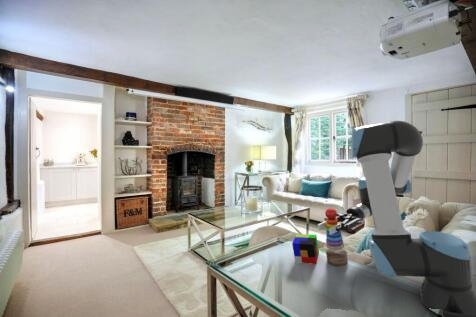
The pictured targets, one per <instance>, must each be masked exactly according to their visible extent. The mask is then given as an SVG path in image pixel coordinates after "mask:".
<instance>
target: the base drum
mask: <svg viewBox="0 0 476 317" xmlns="http://www.w3.org/2000/svg"><path fill="white" fill-rule="evenodd" d="M325 254H326V261H327V263H328V264H329V265H331V266H334V267H342V266H345V265H347V264H348V262H349V260H348V254H347V250H345V249H344V248H343V249H341V250H331V249H329V248H328V249H327V250H326V251H325Z"/></svg>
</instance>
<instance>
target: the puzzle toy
mask: <svg viewBox="0 0 476 317" xmlns="http://www.w3.org/2000/svg"><path fill="white" fill-rule="evenodd" d="M318 242H319V241H318V237H317V234H307V233H306V234H305V233H297V234H296V235H295V237H294V239H293V241H292V243H291V245H292V250H293V251H292V252H293V257H294V262H295V263H297V264H298V263H299V264H309V263H311V264H312V265H317V263H318V259H319V254H320V249H319V244H318Z"/></svg>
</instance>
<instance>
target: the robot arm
mask: <svg viewBox="0 0 476 317" xmlns="http://www.w3.org/2000/svg"><path fill="white" fill-rule="evenodd" d="M350 136H351V141H350V142H351V147H350V148H351V156H352V157H353V158H356V159H357V163H359V164H361V165H362V168H363V173H364V174H363V175H364V176H363V177H360V178H359V179H358V181H357V182H358V192H359V200H360V203H358V204H355V205H353V206H352V207H349V208H347V210H346V211H345V212H343V213H339V212H338V211H336V212H337V216H336V218H337V219H338V222H337V223H338V224H337V225H335V226H333V227H331V228H329V233H330V235H332V234H334V233H335V232H337V231H344V230H346V231H350V230H352V229H353V228H355V227H356V226H359V225H361V224H362V221H363V220H365V219H367V218H370V217H371V216H372V220H373V224H374V230H373V231H372V232H371V238H370V239H368V240H367V243H368V248H369V251H370V254H371V258H372V261H373V263H374V265H375V267H376V269H377V271H378V273H379V274H381V275H382V276H388V277H394V278H396V277H416V278H418V277H420V278H421V277H422V278H423V277H424V278H423V281H422V284H421V286H420V289H419V296H420V297H419V298H420V300H421V302H422V304H423V306H424V307H425V308H427V307H428V308H431V309H442V311H443V316H444V317H476V291H475V289H474V287H473V286H474V285H473V278H472V277H473V276H472V275H473V274H472V263H471V258H472V257H471V254H470V249H469V245H468V244H467V243H466V242H465V241H464V240H463V239H462V238H459V237H458V236H455V235H453V234H449V233H448V232H447V233H446V232H443V231H436V230H435V231H433V230H425V231H424V232H421V233H420V234H419V238H412V235H411V233H410V231H408V230H407V229H406V228H405V227H404V224H403V223H404V222H403V219H402V216H401V211H400V206H399V201H398V198H397V195H404V194H410V193H411V192H412V184H411V181H410V179H409V177H410V174H411V172H412V169H413V165H414V162H415V160H416V156H417V155H419V154H420V153H421V151H422V150H423V146H424V140H423V136H422V133H421V132H420V130H418V128H417V127H415V125H413V124H412V123H410V122H406V121H403V120H391V121H386V122H380V123H374V124H368V125H363V126H359V127H358V126H357V127H354V128H353V129H352V131H351V135H350ZM392 154H393V155H392ZM390 159H391V164H390V163H389V161H390ZM326 219H327V217H326V216H325V217H324V221H323V222H320V223H317V228H318V229H317V230H318V231H321V230H324V229H326V227H327V226H326V223H327V222H326ZM428 308H427V309H428Z"/></svg>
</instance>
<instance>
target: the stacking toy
mask: <svg viewBox="0 0 476 317" xmlns="http://www.w3.org/2000/svg"><path fill="white" fill-rule="evenodd" d="M337 212H338V211H336V209H335V208H332V207H330V208H327V209H325V213H324V214H325V218H326V217H327V219H326V222H327V223H326V226H327V227H326V228H325V229H326V232H325V233H326V239H325V242H326V243H325V245H326V247H327V248H328V249H331V250H341V249H344V248H345V243H344V239H343V235H342V232H341V231H342V230H340V231H337V232H335V233H334V234H332V235H330V233H329V228H331V227H333V226H335V225H337V224H339V222H338V219H337V218H336V216H337Z"/></svg>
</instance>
